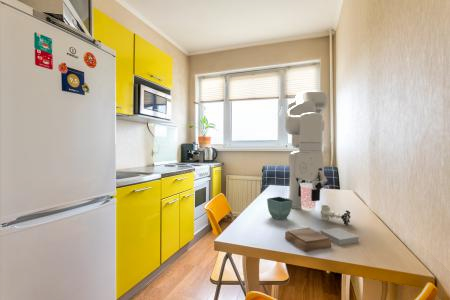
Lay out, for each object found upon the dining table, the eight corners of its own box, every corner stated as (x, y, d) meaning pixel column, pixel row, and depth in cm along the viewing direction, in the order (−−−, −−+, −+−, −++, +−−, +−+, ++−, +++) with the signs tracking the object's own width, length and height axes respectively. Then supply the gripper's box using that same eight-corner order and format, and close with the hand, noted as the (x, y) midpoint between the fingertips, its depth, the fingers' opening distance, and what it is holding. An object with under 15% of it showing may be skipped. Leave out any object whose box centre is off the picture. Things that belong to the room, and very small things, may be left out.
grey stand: (320, 235, 86) (320, 230, 86) (337, 232, 89) (338, 227, 89) (339, 245, 77) (340, 239, 77) (358, 241, 80) (358, 236, 80)
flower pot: (278, 213, 112) (278, 196, 111) (292, 218, 105) (293, 200, 104) (266, 216, 106) (266, 198, 106) (280, 222, 99) (281, 202, 99)
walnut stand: (285, 238, 82) (285, 230, 82) (308, 234, 86) (308, 226, 86) (305, 251, 72) (305, 242, 72) (331, 246, 76) (331, 238, 76)
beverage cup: (302, 205, 83) (303, 168, 83) (319, 208, 80) (320, 170, 79) (297, 209, 78) (298, 170, 78) (315, 212, 74) (316, 171, 74)
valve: (317, 220, 104) (345, 227, 95) (318, 206, 103) (346, 212, 95) (323, 217, 108) (350, 223, 100) (323, 203, 108) (350, 209, 100)
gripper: (286, 147, 85) (285, 193, 85) (320, 148, 69) (318, 205, 69) (302, 147, 88) (300, 192, 88) (338, 148, 72) (336, 203, 72)
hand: (308, 197), depth 79 cm, fingers closed on beverage cup, 6 cm apart
